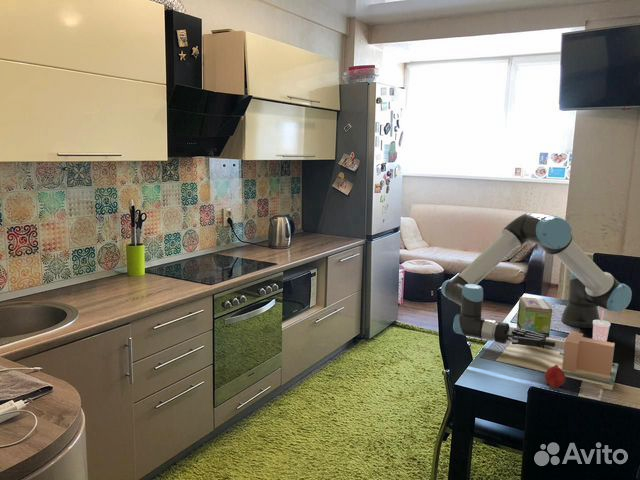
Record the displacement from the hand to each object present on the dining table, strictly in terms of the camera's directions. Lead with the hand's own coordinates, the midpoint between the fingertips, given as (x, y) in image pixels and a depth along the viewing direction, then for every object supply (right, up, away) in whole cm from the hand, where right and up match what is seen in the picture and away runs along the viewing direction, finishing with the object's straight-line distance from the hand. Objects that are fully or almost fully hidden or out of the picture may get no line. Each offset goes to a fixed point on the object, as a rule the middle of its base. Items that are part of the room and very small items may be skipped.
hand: (565, 345), depth 183 cm
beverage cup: (+23, -4, +23) cm, 33 cm away
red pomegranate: (-11, -10, -16) cm, 22 cm away
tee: (+6, -7, -2) cm, 10 cm away
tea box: (0, -3, +29) cm, 29 cm away
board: (-2, -7, +3) cm, 8 cm away
